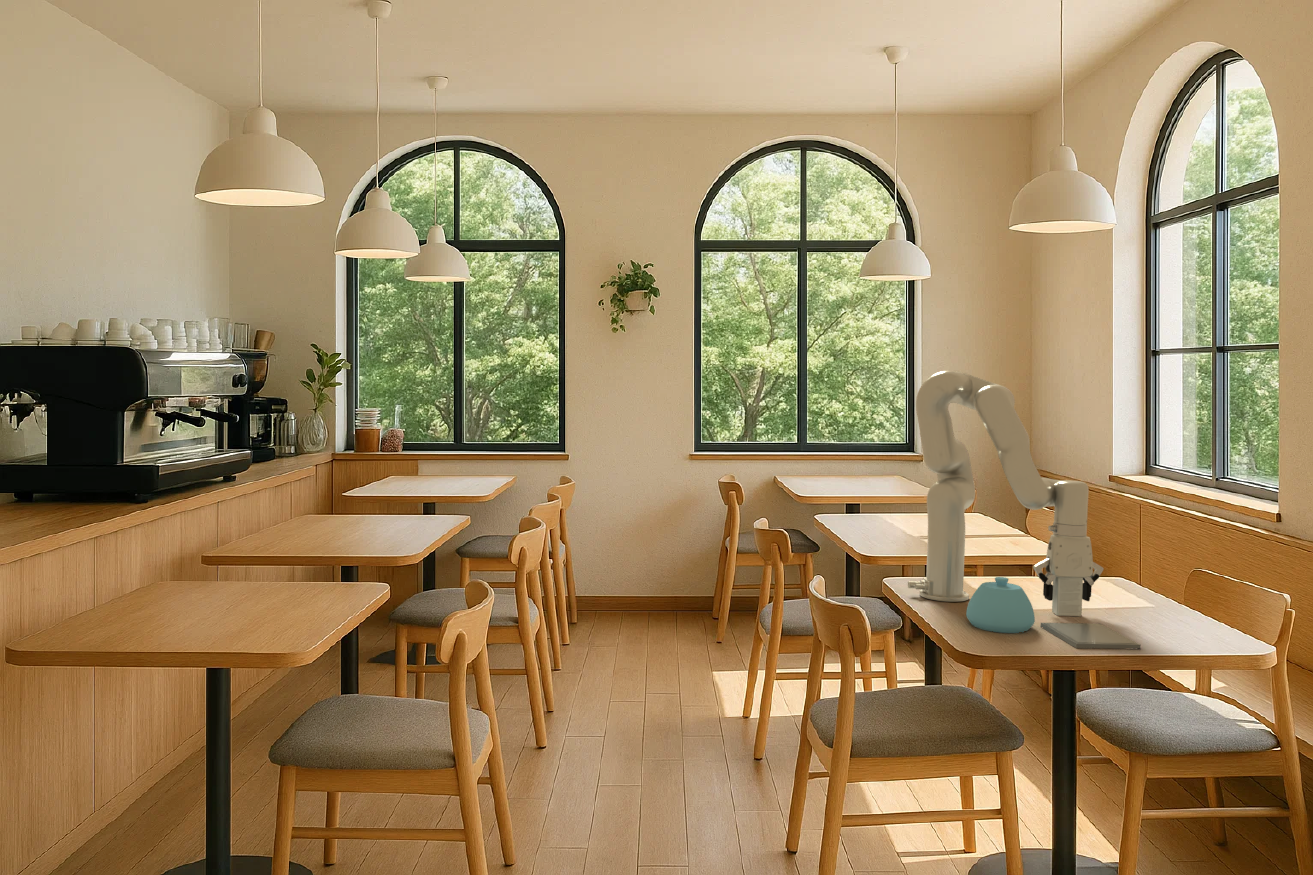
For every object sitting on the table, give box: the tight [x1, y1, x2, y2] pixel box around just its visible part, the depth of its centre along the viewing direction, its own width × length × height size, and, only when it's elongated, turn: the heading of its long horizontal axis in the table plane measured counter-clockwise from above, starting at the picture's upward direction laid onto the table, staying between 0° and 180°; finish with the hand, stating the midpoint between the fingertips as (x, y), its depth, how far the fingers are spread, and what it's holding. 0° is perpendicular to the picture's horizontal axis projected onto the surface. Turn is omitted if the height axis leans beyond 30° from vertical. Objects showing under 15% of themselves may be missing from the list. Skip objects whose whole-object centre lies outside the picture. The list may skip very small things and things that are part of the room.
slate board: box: [1040, 622, 1142, 649], centre depth 211 cm, size 14×18×1 cm
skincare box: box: [1051, 577, 1084, 617], centre depth 233 cm, size 6×4×12 cm
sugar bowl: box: [966, 576, 1036, 634], centre depth 219 cm, size 15×15×12 cm
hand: (1066, 599), depth 233 cm, fingers open, 8 cm apart
